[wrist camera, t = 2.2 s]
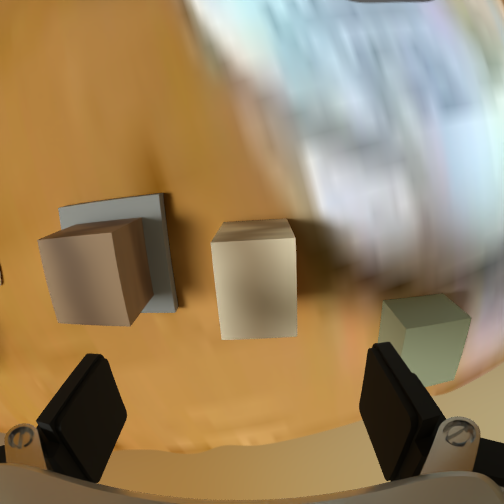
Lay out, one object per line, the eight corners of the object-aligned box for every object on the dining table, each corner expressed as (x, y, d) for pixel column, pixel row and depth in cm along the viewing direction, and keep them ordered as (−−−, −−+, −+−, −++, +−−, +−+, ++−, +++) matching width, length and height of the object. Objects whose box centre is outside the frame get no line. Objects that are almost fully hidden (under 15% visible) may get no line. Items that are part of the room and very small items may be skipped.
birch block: (286, 218, 22) (295, 237, 17) (289, 296, 24) (297, 336, 18) (223, 222, 23) (210, 242, 17) (230, 299, 24) (221, 339, 18)
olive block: (441, 292, 24) (471, 317, 19) (430, 350, 25) (453, 379, 21) (382, 299, 24) (406, 329, 19) (374, 359, 26) (392, 393, 21)
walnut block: (141, 217, 21) (111, 232, 17) (153, 295, 23) (130, 326, 18) (74, 224, 22) (37, 240, 17) (89, 295, 23) (58, 322, 19)
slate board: (163, 192, 22) (158, 194, 21) (178, 306, 24) (175, 312, 23) (64, 206, 22) (58, 207, 21) (84, 306, 25) (79, 311, 24)
